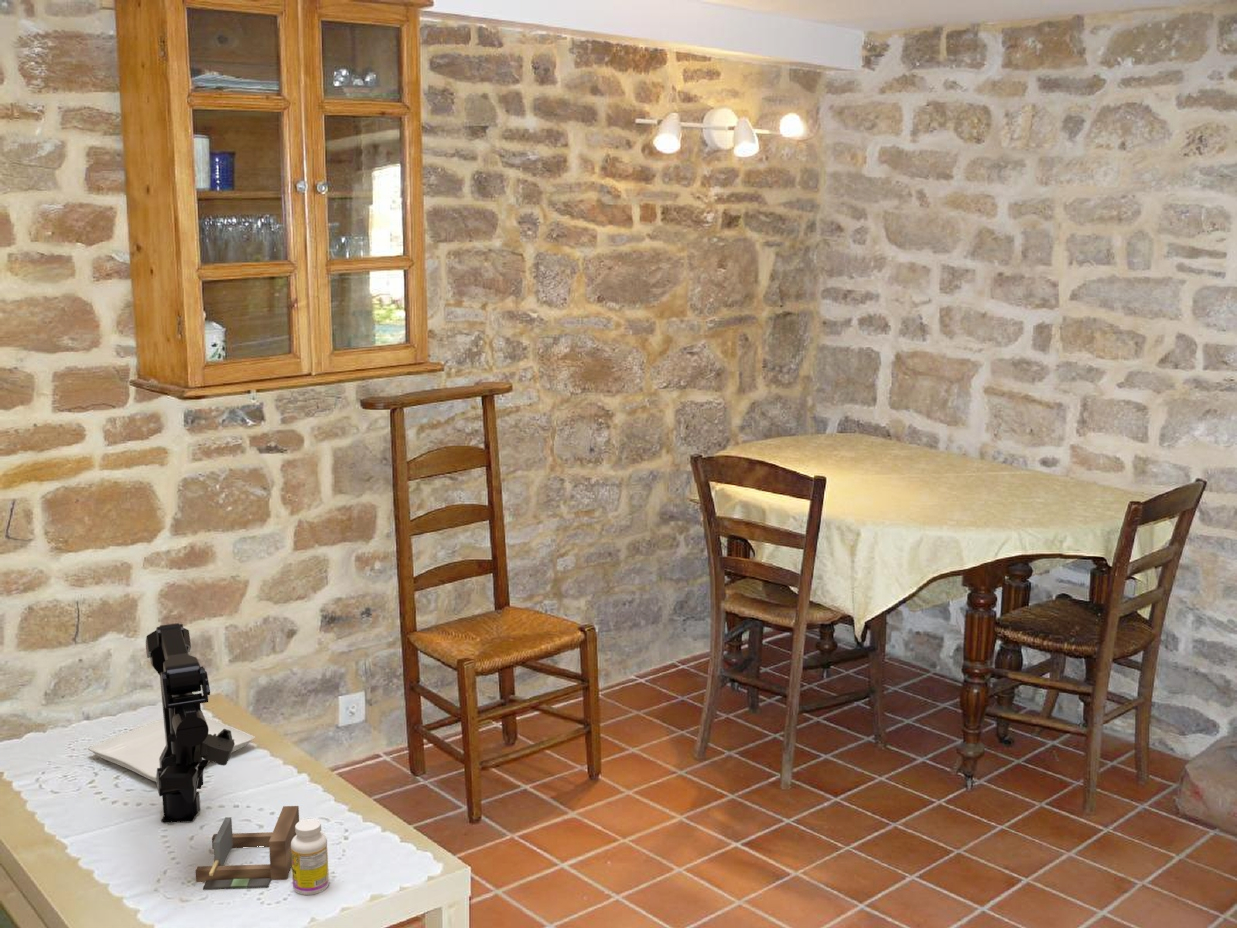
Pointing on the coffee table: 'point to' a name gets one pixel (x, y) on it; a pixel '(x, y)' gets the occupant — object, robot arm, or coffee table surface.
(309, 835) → the supplement bottle
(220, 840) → the pad
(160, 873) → the coffee table surface
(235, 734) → the square plate
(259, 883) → the brown wooden frame
